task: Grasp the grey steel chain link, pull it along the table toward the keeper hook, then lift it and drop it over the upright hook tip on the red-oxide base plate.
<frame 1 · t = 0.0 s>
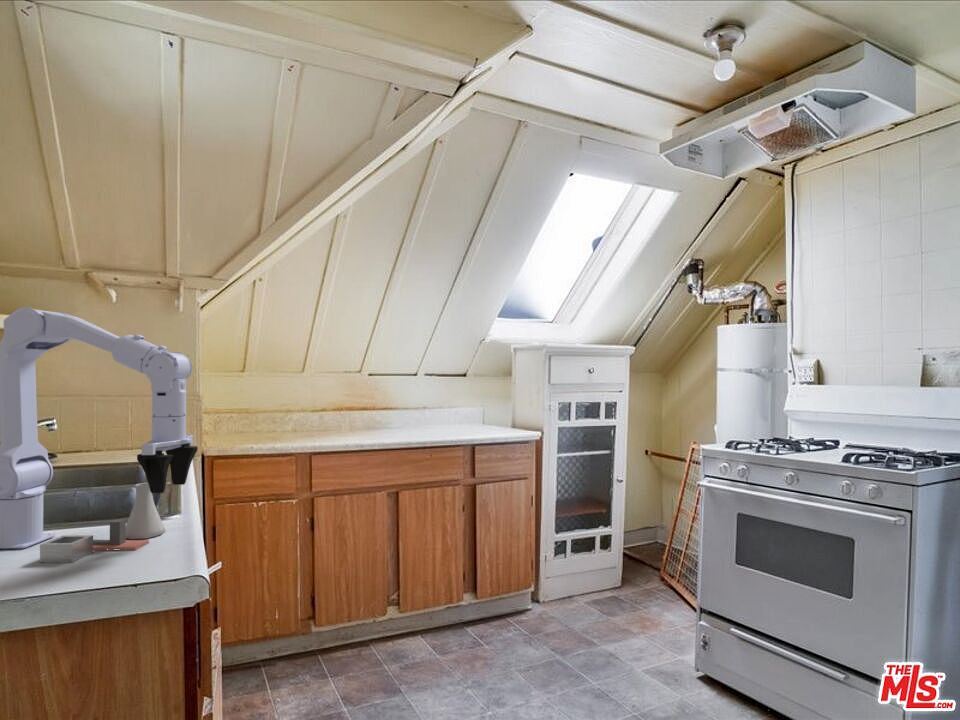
hand: (168, 488, 109), 10 cm above the countertop, tool pointing down, fingers open, 7 cm apart
flask: (143, 536, 114), on the countertop
link: (67, 557, 101), on the countertop
keeper hook: (117, 546, 107), on the countertop
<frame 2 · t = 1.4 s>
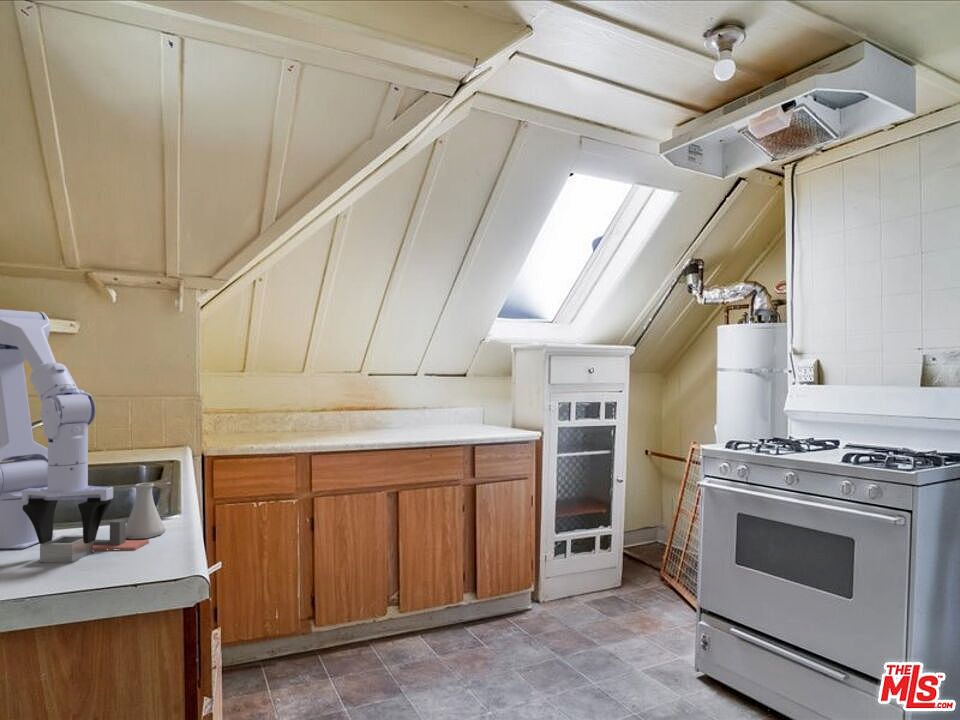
hand: (67, 542, 101), 3 cm above the countertop, tool pointing down, fingers open, 7 cm apart
nothing on the countertop moved.
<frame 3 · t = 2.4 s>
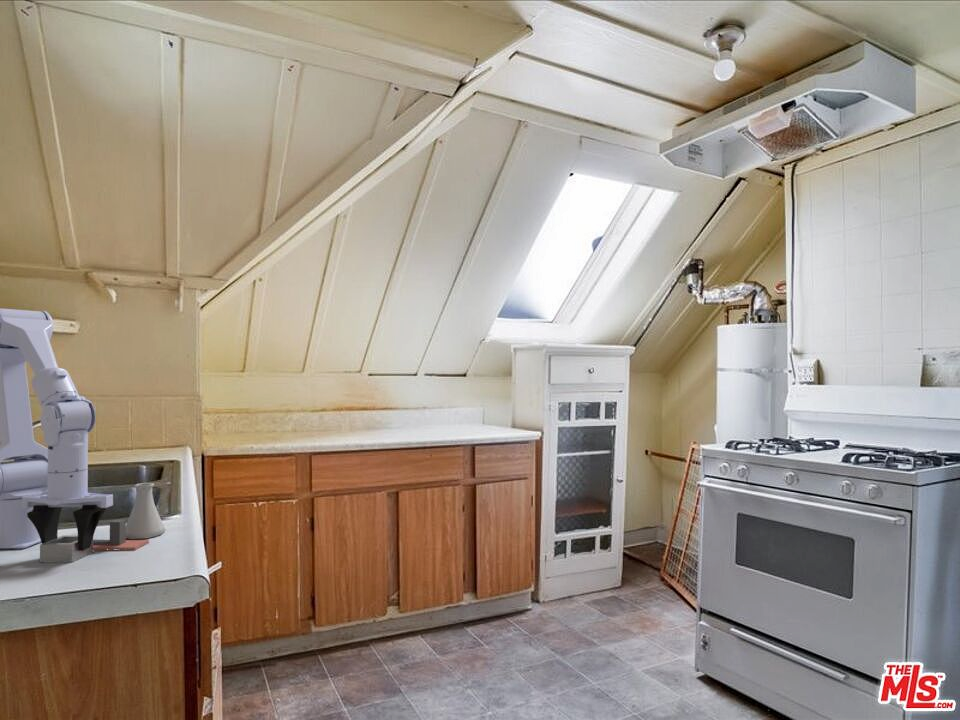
hand: (67, 549, 101), 1 cm above the countertop, tool pointing down, fingers closed on link, 5 cm apart
link: (67, 557, 101), on the countertop, touching gripper
everything else where it was.
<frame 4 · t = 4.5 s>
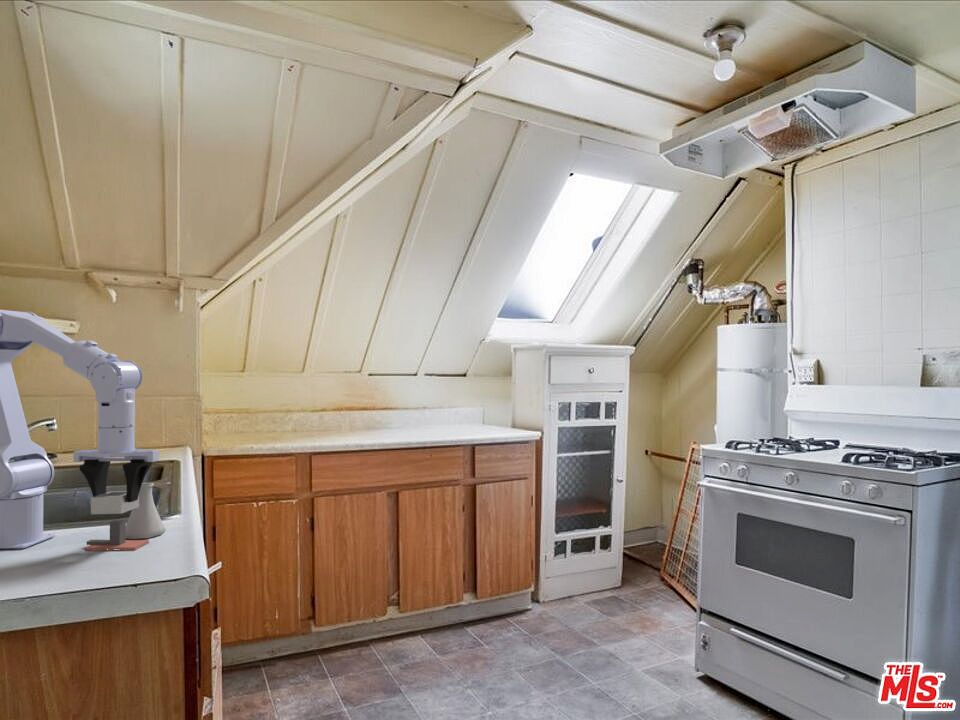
hand: (116, 501, 106), 8 cm above the countertop, tool pointing down, fingers closed on link, 5 cm apart
link: (115, 510, 106), point 7 cm above the countertop, touching gripper
everything else where it was.
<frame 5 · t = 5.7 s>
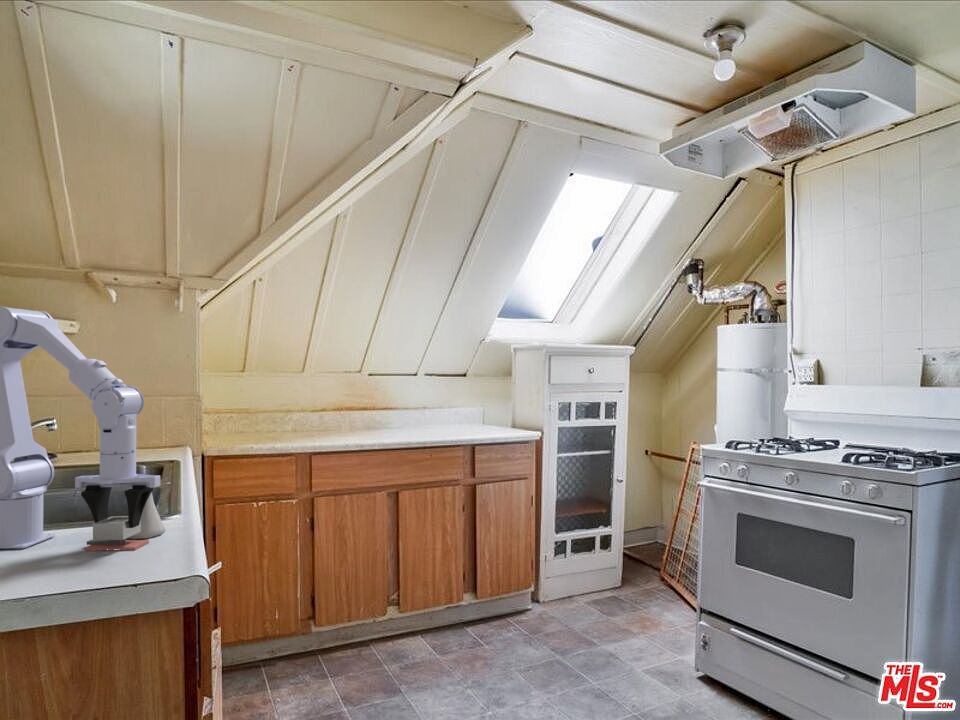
hand: (117, 526, 107), 4 cm above the countertop, tool pointing down, fingers closed on link, 5 cm apart
link: (117, 536, 106), point 2 cm above the countertop, touching gripper
everything else where it was.
when the fingers open (4 cm above the countertop, at t = 6.6 s): link drops 1 cm, resting on keeper hook.
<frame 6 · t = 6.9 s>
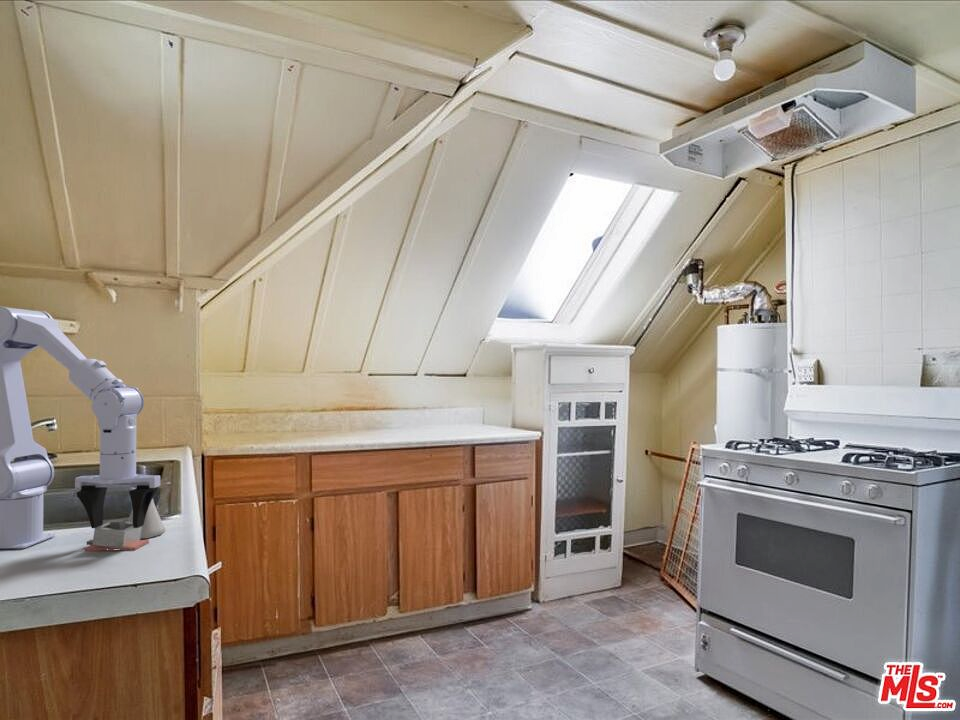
hand: (117, 526, 107), 4 cm above the countertop, tool pointing down, fingers open, 7 cm apart
link: (116, 542, 106), point 1 cm above the countertop, tilted 7°, touching keeper hook
everything else where it was.
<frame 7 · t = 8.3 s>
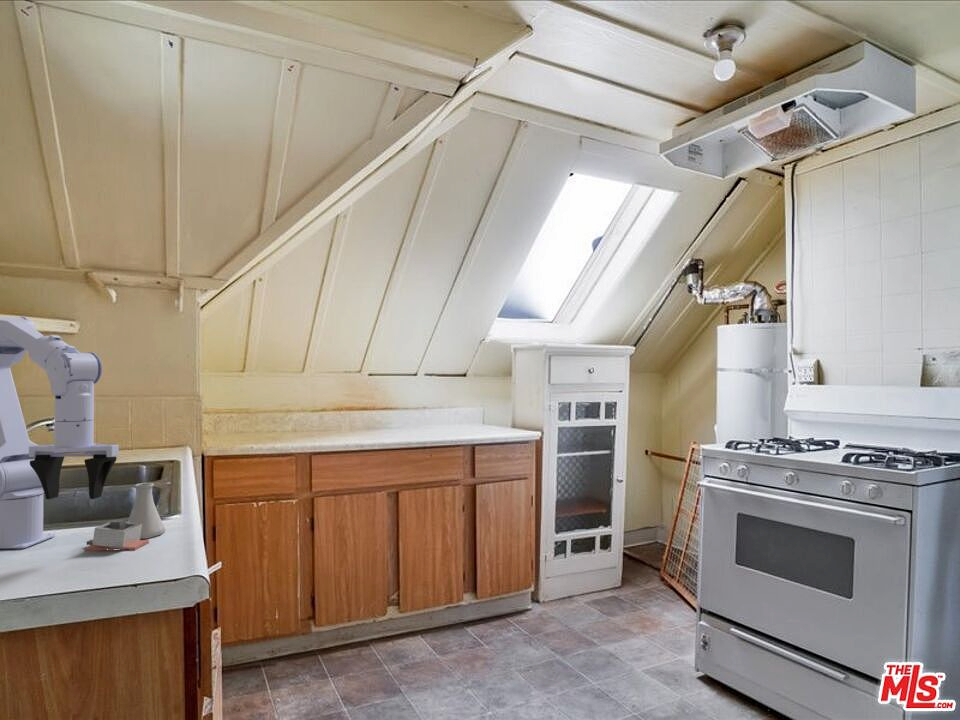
hand: (73, 497, 102), 10 cm above the countertop, tool pointing down, fingers open, 7 cm apart
nothing on the countertop moved.
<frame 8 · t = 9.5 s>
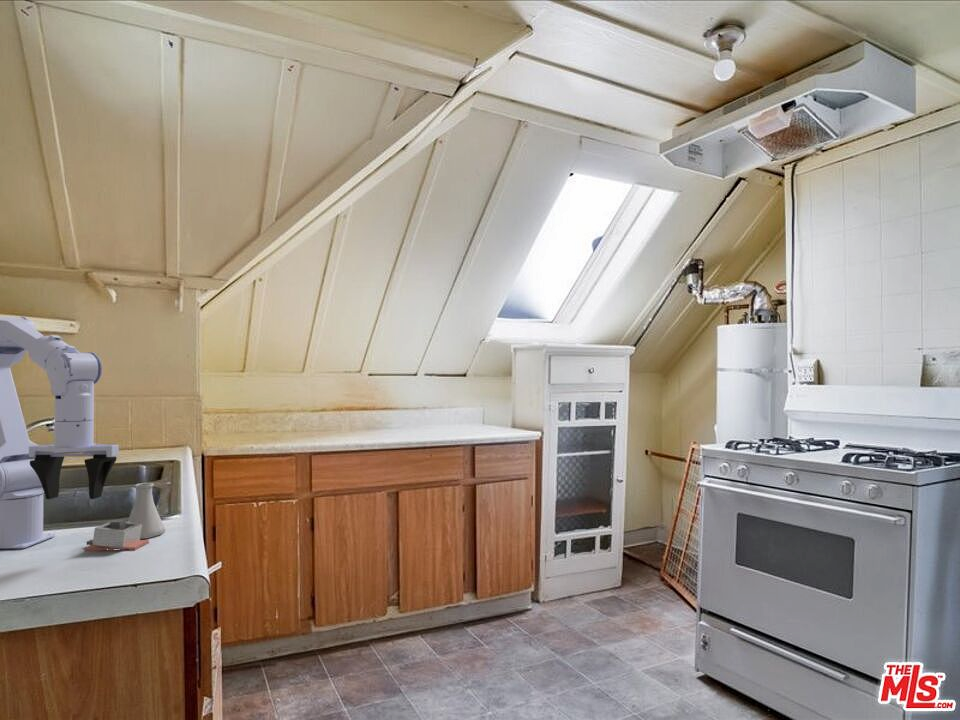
hand: (73, 497, 102), 10 cm above the countertop, tool pointing down, fingers open, 7 cm apart
nothing on the countertop moved.
at the end: link 0.2 cm from the keeper hook (horizontally); link point 0.9 cm above the countertop; the gripper is holding nothing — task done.
